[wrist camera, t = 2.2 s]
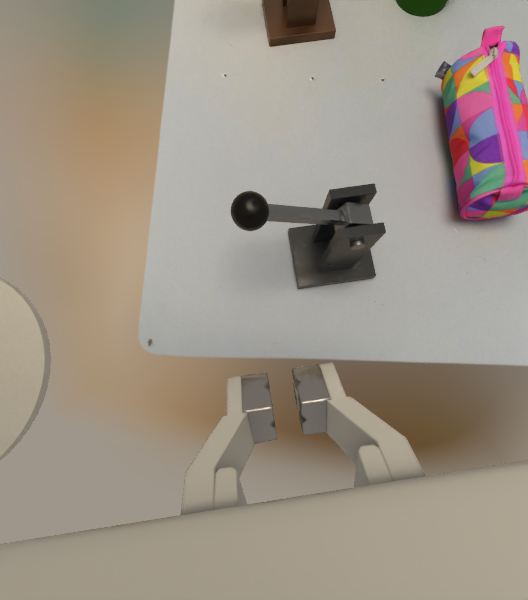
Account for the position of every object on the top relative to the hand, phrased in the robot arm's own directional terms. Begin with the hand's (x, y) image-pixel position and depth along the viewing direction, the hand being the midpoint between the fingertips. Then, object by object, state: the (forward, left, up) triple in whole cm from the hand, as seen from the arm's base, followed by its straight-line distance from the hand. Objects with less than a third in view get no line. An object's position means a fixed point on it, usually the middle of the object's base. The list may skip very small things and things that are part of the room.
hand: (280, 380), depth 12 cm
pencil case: (+32, +25, -28) cm, 49 cm away
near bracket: (+10, +13, -28) cm, 33 cm away
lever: (+4, +13, -16) cm, 21 cm away
